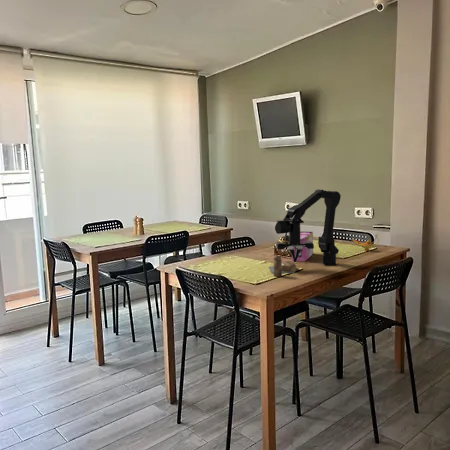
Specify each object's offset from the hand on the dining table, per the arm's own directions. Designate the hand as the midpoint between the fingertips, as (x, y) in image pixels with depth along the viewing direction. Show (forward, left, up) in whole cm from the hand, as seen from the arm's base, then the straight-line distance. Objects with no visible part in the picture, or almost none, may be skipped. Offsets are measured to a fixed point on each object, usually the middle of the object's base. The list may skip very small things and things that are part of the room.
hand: (294, 261), depth 234 cm
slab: (0, 0, -2) cm, 2 cm away
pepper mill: (+10, +12, -4) cm, 16 cm away
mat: (+7, 0, -4) cm, 8 cm away
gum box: (-9, -30, -5) cm, 32 cm away
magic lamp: (-48, -43, -4) cm, 65 cm away
